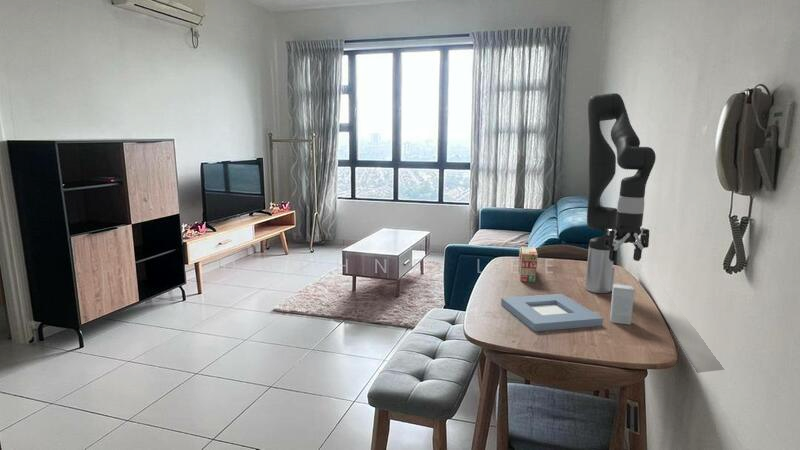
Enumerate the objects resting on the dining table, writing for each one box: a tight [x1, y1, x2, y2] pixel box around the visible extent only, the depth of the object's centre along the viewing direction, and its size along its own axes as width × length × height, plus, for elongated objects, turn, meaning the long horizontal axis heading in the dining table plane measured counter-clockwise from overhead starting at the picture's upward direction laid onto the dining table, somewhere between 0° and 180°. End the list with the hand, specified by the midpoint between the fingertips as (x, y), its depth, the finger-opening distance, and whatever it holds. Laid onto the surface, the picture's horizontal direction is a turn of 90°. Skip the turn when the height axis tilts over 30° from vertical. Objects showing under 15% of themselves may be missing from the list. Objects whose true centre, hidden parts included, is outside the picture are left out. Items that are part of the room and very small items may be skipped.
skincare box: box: [609, 283, 635, 326], centre depth 150 cm, size 6×4×12 cm
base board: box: [500, 293, 604, 332], centre depth 157 cm, size 24×24×2 cm
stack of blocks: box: [518, 246, 538, 283], centre depth 201 cm, size 21×6×12 cm, turn 168°
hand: (624, 260), depth 148 cm, fingers open, 8 cm apart
